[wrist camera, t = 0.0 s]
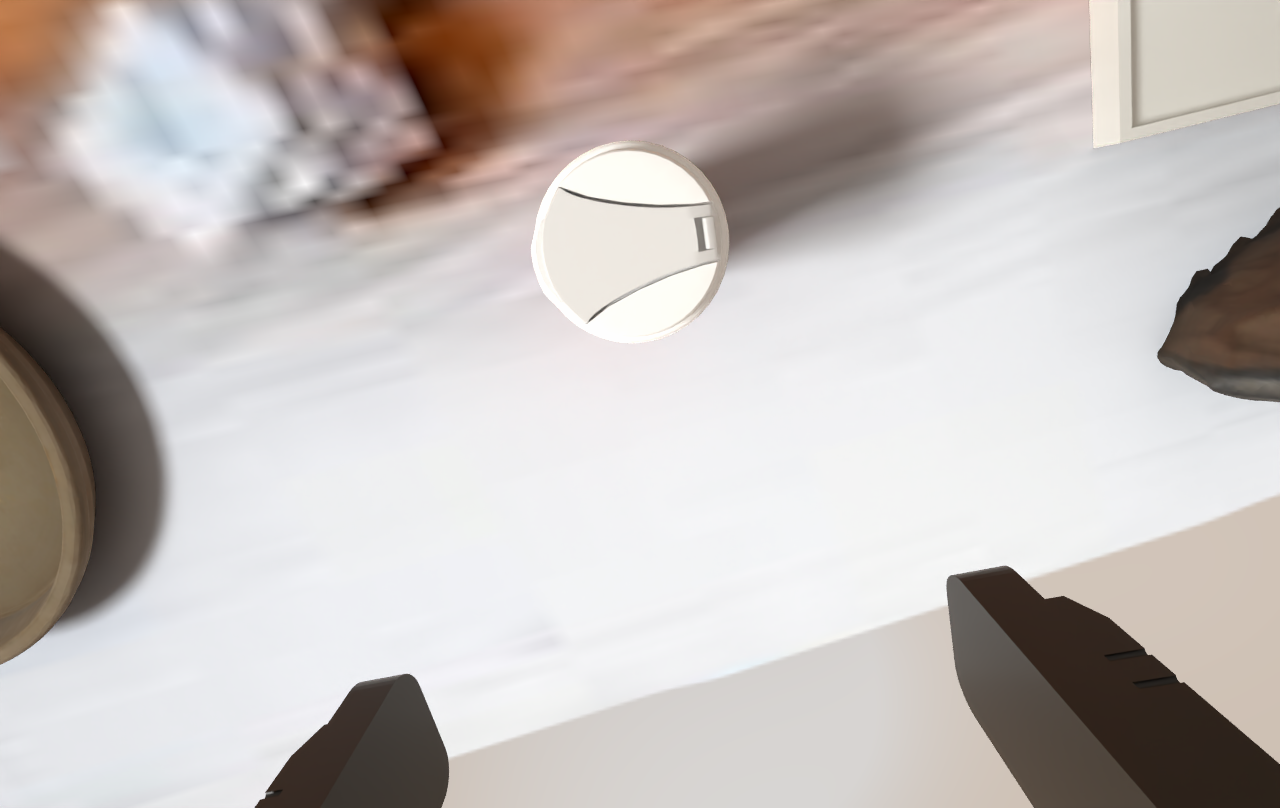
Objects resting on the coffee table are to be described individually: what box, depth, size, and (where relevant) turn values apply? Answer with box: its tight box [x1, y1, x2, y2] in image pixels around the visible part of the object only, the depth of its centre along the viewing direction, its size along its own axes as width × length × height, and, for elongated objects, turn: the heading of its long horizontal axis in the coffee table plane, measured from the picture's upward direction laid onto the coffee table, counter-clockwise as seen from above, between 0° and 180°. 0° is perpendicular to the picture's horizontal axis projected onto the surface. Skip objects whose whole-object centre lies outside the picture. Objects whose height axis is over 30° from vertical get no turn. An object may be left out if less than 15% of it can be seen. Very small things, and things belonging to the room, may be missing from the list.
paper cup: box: [531, 141, 729, 343], centre depth 29 cm, size 8×8×14 cm
